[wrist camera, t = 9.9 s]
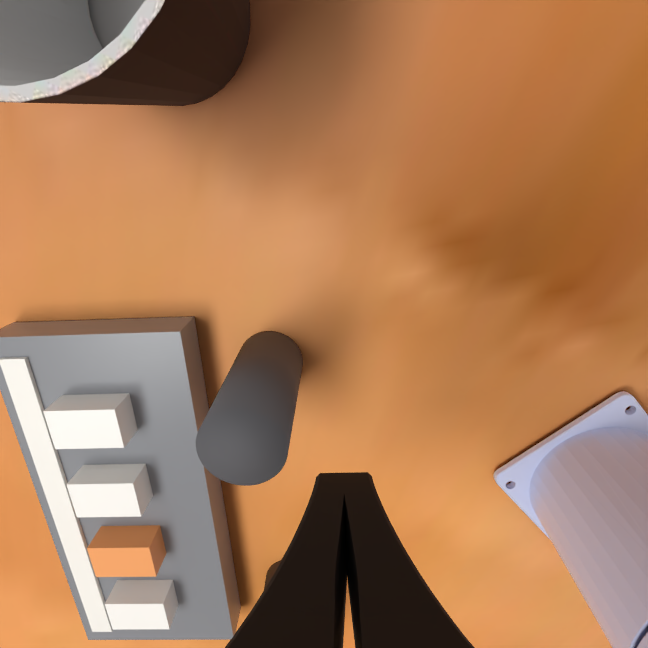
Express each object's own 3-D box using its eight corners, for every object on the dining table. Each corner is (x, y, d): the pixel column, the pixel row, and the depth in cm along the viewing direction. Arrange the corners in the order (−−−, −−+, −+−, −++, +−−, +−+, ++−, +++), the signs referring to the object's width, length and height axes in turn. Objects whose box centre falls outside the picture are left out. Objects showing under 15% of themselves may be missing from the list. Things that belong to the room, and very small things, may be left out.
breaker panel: (13, 322, 21) (-45, 350, 18) (194, 316, 20) (168, 344, 17) (105, 607, 28) (74, 665, 25) (240, 606, 27) (228, 665, 24)
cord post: (316, 363, 21) (306, 451, 15) (270, 400, 22) (243, 500, 15) (270, 318, 20) (240, 390, 14) (225, 358, 21) (176, 444, 15)
